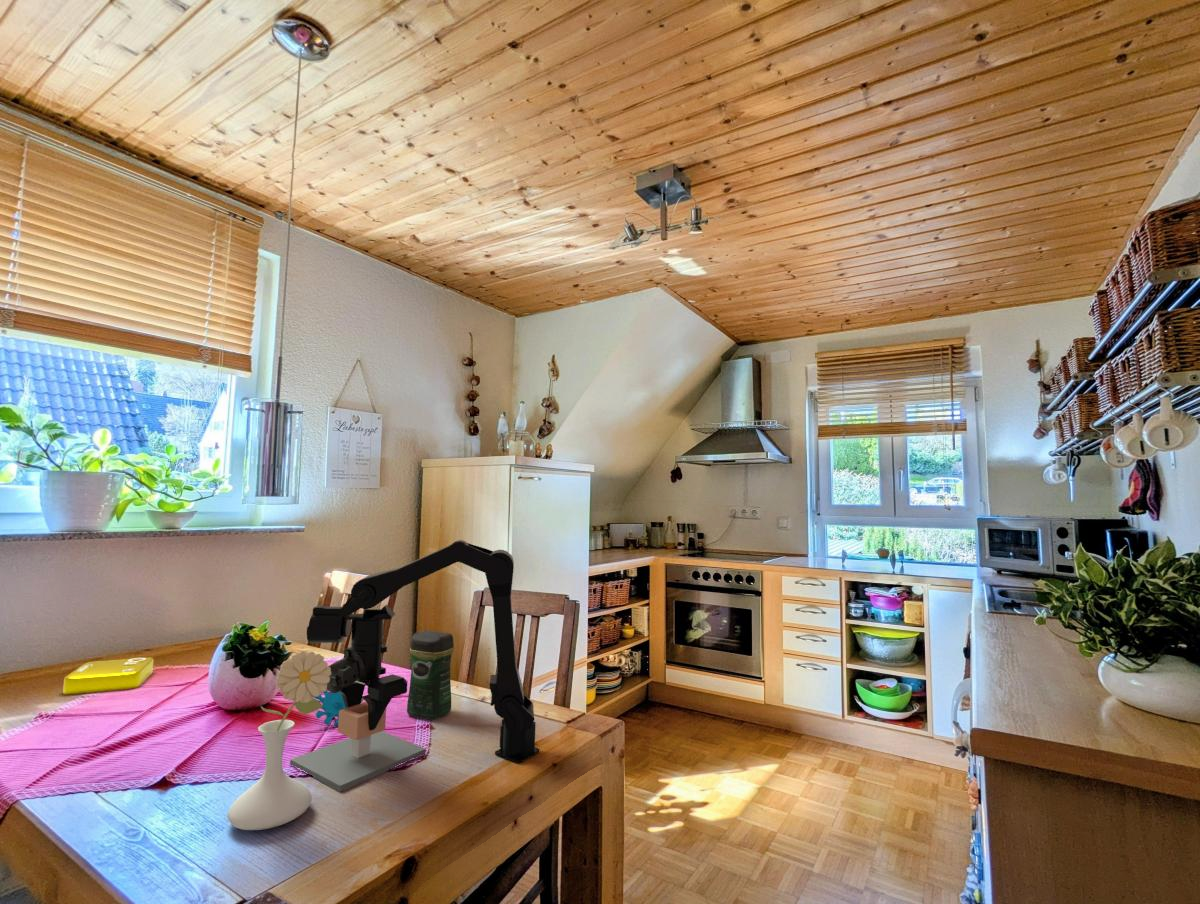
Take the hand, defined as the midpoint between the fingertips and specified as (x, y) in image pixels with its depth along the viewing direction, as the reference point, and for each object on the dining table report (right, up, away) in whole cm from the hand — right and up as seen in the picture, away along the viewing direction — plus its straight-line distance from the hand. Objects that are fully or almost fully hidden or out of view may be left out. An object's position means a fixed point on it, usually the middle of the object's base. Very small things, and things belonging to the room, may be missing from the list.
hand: (362, 725), depth 109 cm
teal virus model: (-13, -8, +18) cm, 23 cm away
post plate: (0, -6, -1) cm, 6 cm away
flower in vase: (-5, -5, -20) cm, 21 cm away
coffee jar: (+6, -9, +23) cm, 25 cm away
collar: (0, -1, 0) cm, 1 cm away
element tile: (-81, -8, +38) cm, 89 cm away
